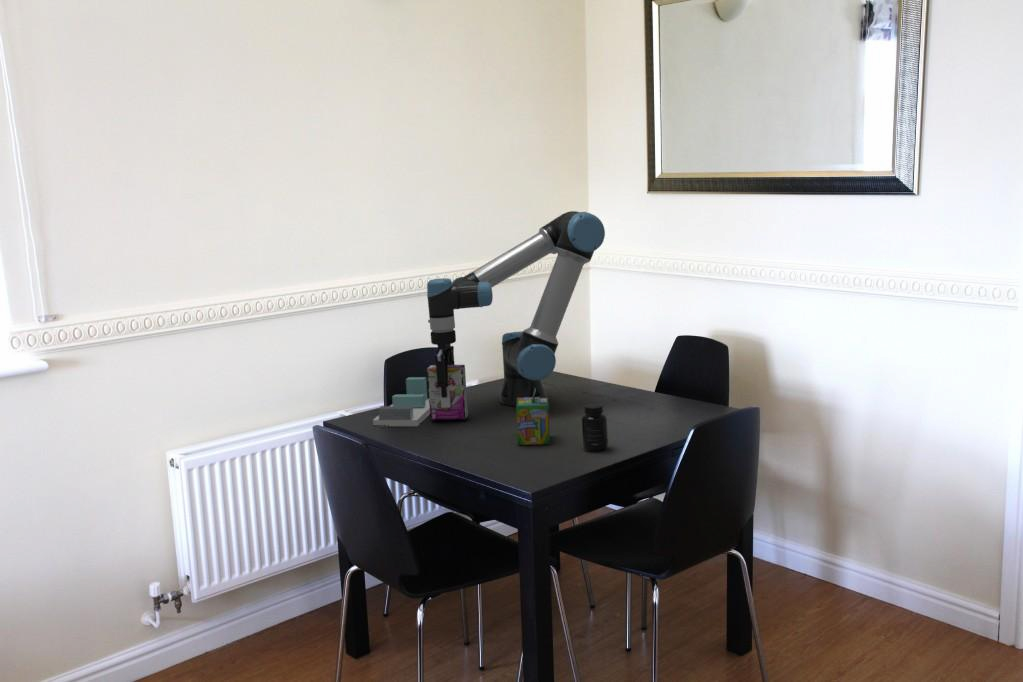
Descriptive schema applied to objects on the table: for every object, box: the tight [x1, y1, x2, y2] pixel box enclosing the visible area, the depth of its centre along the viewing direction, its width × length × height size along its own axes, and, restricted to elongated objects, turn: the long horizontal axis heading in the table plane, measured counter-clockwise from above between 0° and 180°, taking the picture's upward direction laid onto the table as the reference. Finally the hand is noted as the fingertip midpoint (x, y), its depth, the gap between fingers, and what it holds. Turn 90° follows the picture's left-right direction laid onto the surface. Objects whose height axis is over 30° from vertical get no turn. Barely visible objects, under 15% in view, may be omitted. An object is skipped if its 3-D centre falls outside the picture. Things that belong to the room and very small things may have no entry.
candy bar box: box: [426, 364, 469, 421], centre depth 285 cm, size 11×5×16 cm, turn 84°
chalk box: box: [515, 388, 551, 446], centre depth 260 cm, size 9×9×15 cm
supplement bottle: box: [581, 403, 609, 453], centre depth 250 cm, size 7×7×12 cm
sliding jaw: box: [391, 376, 428, 407], centre depth 301 cm, size 12×10×7 cm
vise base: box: [372, 398, 430, 427], centre depth 295 cm, size 26×14×6 cm, turn 169°
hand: (448, 404), depth 285 cm, fingers closed on candy bar box, 5 cm apart
